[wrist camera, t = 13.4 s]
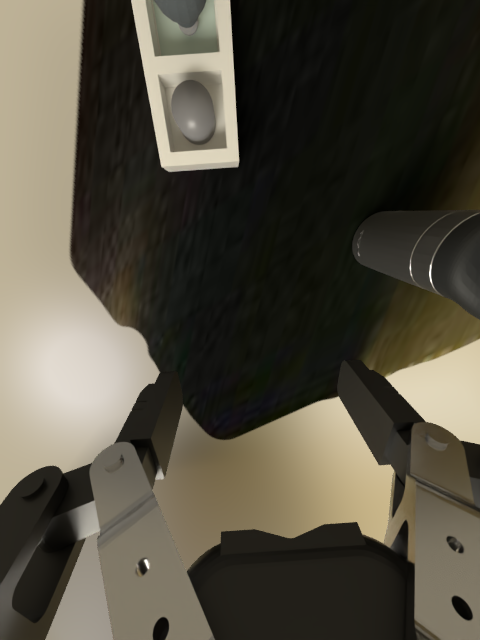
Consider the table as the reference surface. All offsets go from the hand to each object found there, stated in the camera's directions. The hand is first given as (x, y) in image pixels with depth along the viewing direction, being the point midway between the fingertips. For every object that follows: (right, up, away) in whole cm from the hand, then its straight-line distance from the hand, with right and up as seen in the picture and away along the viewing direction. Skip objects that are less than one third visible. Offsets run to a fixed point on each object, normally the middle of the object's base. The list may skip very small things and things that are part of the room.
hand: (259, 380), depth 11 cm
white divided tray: (-7, +34, +19) cm, 40 cm away
